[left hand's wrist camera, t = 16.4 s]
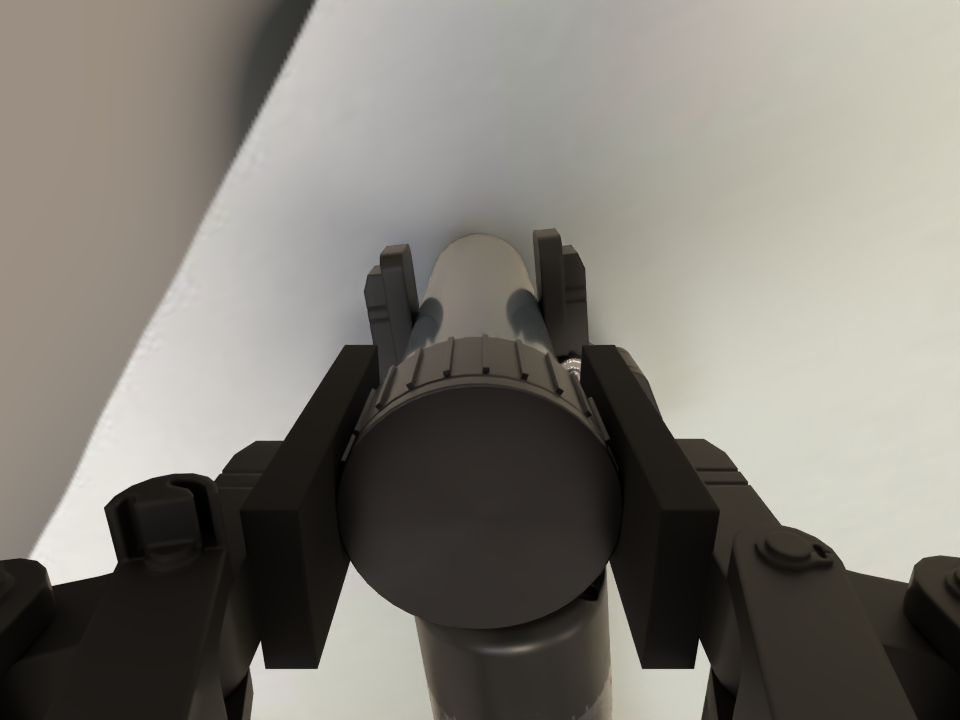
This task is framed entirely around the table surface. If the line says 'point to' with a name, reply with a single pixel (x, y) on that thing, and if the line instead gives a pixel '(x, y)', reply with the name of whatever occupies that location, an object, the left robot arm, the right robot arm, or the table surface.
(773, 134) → the table surface
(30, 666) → the left robot arm
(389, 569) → the lid
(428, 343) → the blue-grey bottle
